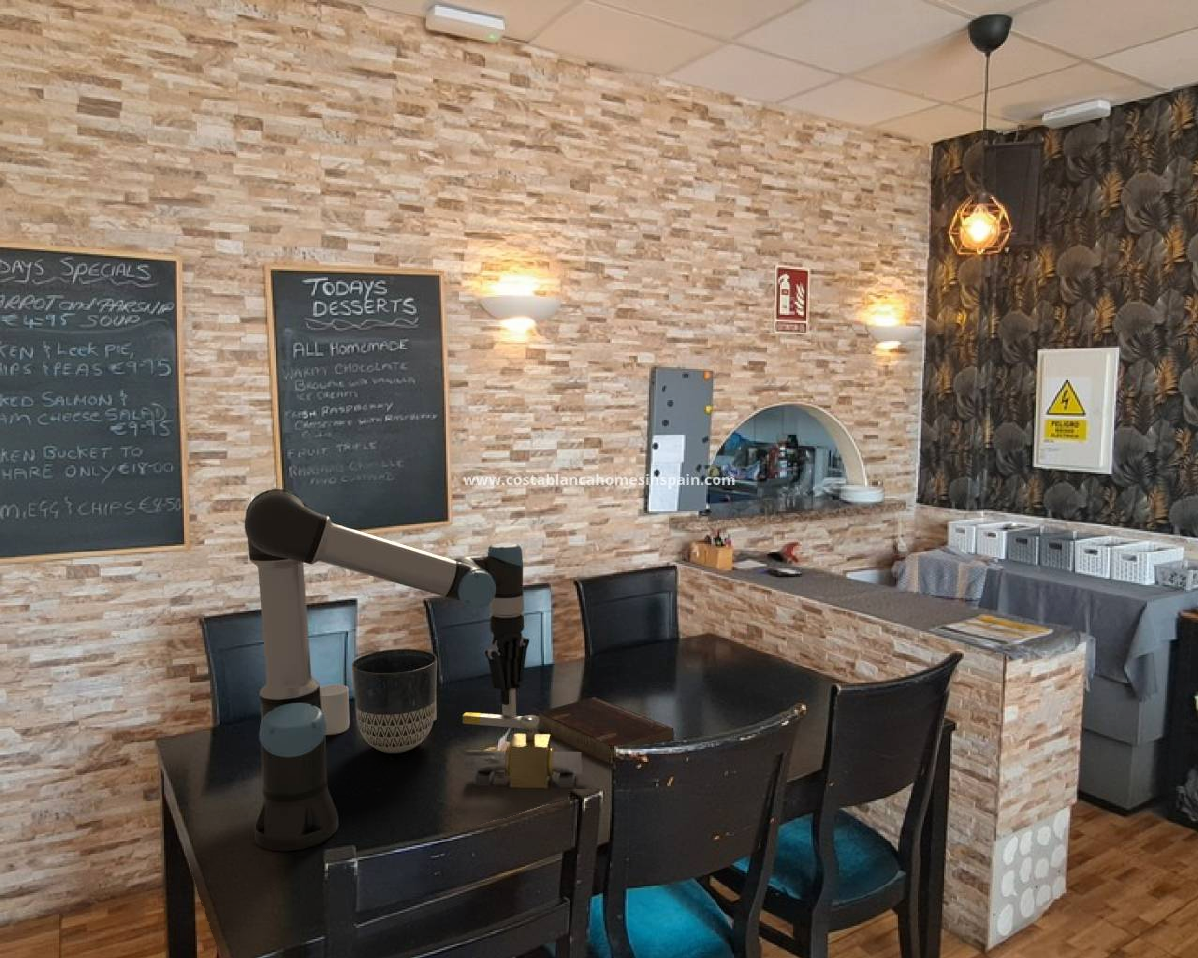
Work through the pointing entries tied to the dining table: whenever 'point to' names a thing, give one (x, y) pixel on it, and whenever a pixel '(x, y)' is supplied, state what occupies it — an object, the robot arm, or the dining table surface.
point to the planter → (395, 697)
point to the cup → (335, 708)
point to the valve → (525, 762)
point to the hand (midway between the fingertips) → (509, 716)
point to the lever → (503, 720)
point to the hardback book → (601, 727)
